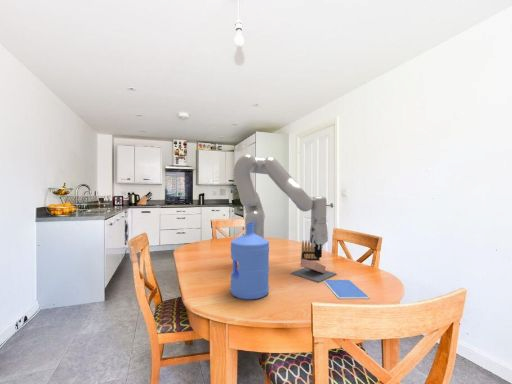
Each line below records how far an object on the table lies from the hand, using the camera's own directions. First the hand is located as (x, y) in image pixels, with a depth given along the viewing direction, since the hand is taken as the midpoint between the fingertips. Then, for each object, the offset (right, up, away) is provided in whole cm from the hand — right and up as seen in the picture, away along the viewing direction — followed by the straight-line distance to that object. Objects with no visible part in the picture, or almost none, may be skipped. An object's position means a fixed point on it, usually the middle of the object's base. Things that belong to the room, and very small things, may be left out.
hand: (318, 256), depth 126 cm
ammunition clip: (+1, -8, +23) cm, 24 cm away
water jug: (-34, -8, -25) cm, 43 cm away
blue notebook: (+6, -9, -21) cm, 24 cm away
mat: (-3, -8, -3) cm, 9 cm away
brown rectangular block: (0, -6, 0) cm, 6 cm away
